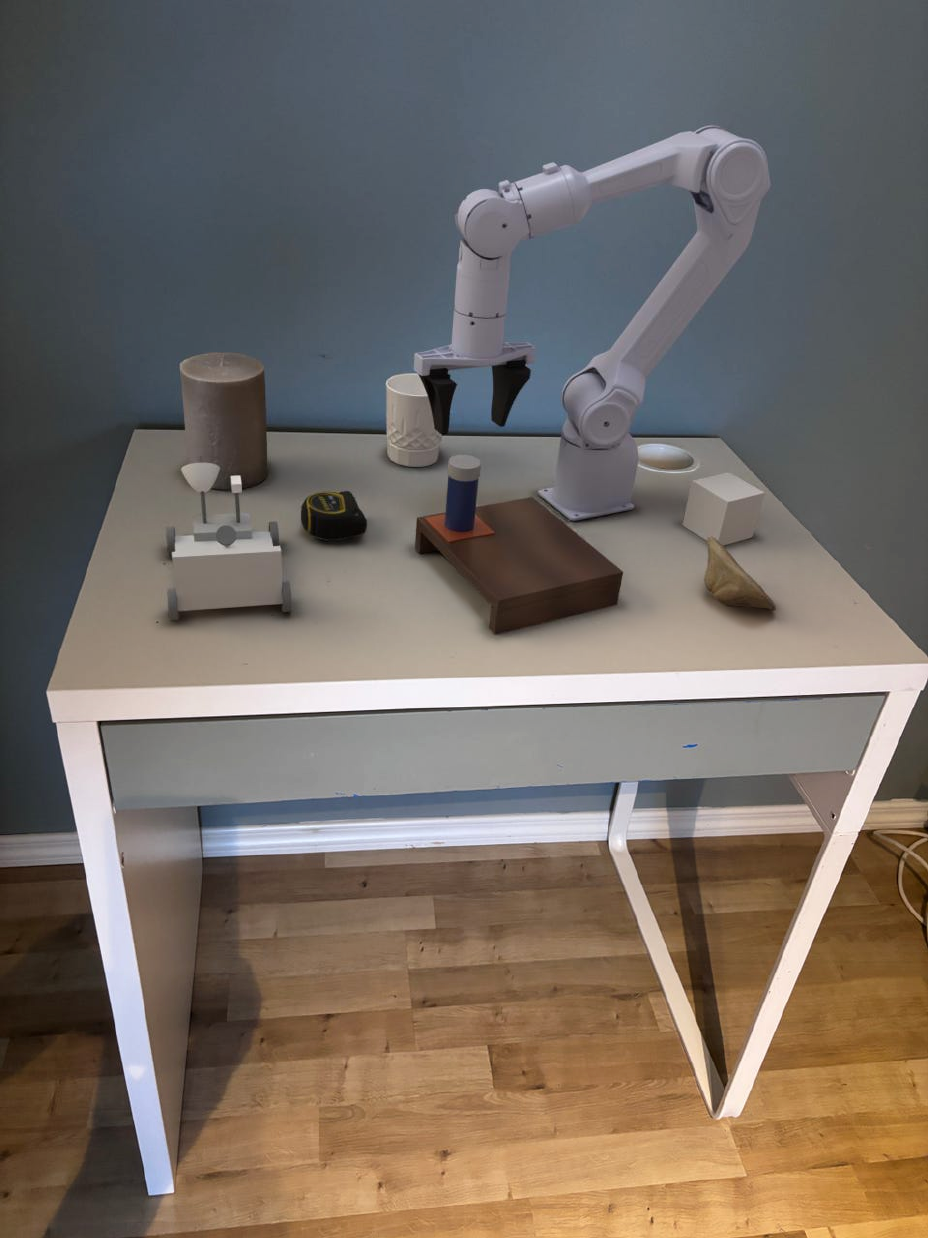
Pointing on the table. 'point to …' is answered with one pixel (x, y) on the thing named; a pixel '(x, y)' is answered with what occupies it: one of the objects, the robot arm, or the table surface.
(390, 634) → the table surface
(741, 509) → the white cube
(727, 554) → the samosa
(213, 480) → the toy car
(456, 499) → the glue stick
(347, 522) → the tape measure
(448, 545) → the desk shelf
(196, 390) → the pillar candle
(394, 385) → the white cup
